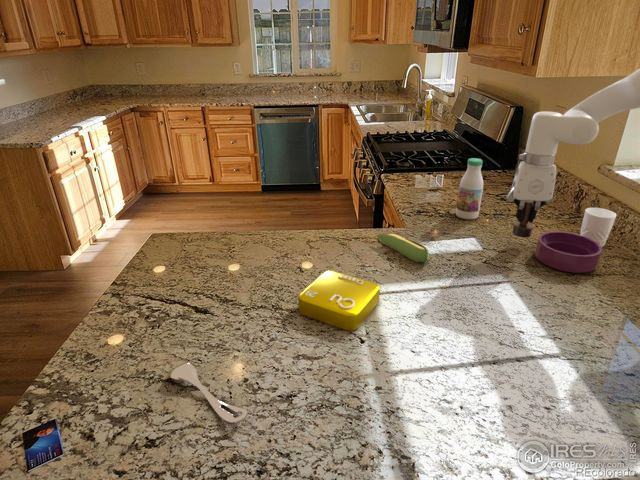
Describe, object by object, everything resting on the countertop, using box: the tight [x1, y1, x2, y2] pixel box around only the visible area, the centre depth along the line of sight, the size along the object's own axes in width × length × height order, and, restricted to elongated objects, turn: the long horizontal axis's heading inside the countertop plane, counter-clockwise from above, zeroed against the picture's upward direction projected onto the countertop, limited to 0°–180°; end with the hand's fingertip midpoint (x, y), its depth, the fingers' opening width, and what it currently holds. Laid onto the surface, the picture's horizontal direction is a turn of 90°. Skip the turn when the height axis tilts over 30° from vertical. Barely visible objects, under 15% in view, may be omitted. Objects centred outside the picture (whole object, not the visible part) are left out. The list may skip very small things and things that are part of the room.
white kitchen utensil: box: [168, 361, 248, 424], centre depth 74 cm, size 20×4×5 cm
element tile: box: [298, 270, 381, 332], centre depth 99 cm, size 15×15×5 cm
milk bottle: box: [455, 157, 484, 220], centre depth 144 cm, size 8×8×20 cm
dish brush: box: [511, 200, 535, 238], centre depth 124 cm, size 5×5×10 cm
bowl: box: [534, 230, 603, 274], centre depth 118 cm, size 15×15×6 cm
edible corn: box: [376, 232, 431, 263], centre depth 123 cm, size 5×20×5 cm, turn 35°
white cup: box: [579, 207, 617, 248], centre depth 127 cm, size 8×8×10 cm
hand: (524, 220), depth 124 cm, fingers closed on dish brush
